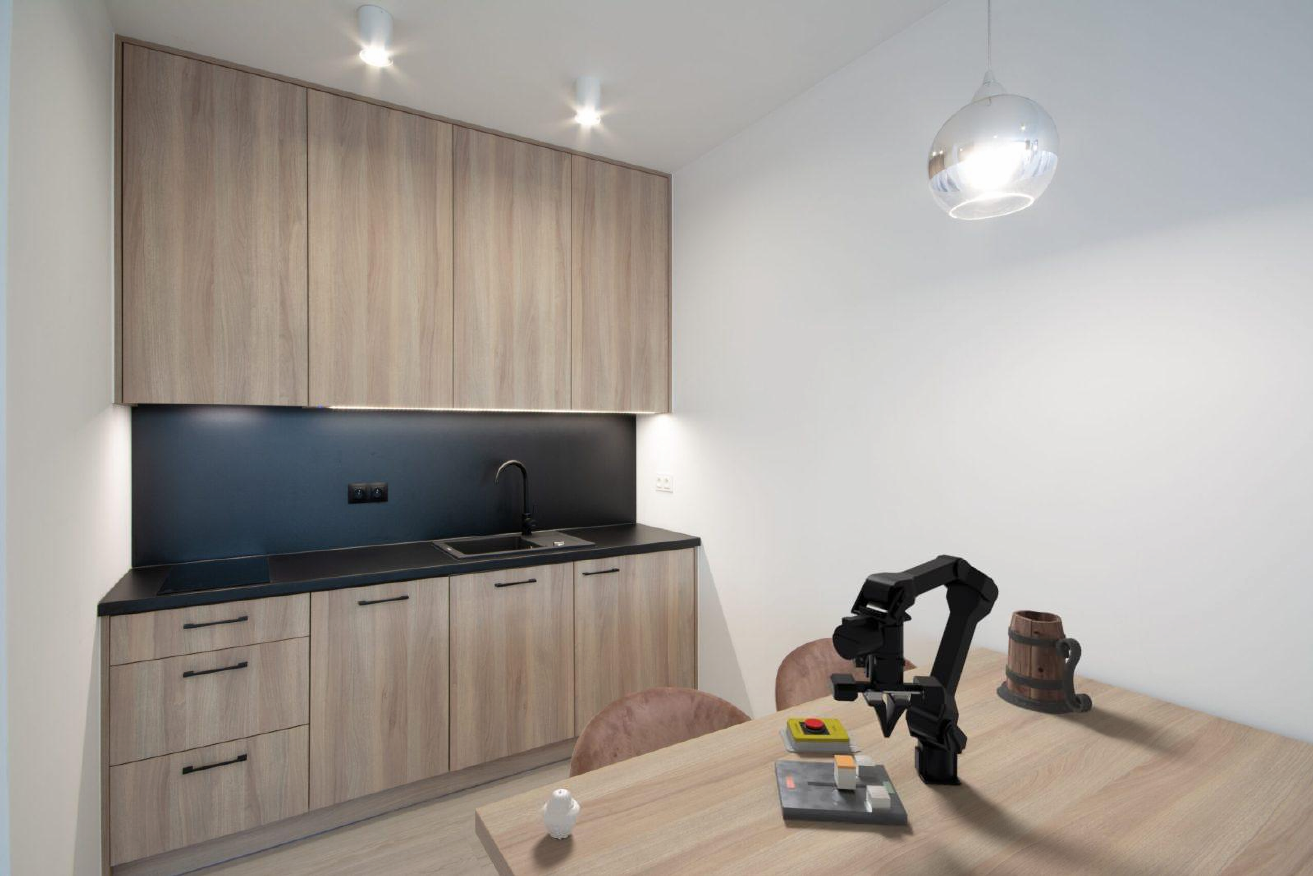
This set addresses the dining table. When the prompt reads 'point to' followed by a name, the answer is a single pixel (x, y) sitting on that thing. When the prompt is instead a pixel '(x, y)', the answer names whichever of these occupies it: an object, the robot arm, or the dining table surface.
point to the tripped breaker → (844, 772)
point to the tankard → (1042, 665)
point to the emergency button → (817, 736)
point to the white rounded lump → (560, 814)
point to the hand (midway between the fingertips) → (886, 736)
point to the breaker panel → (838, 793)
